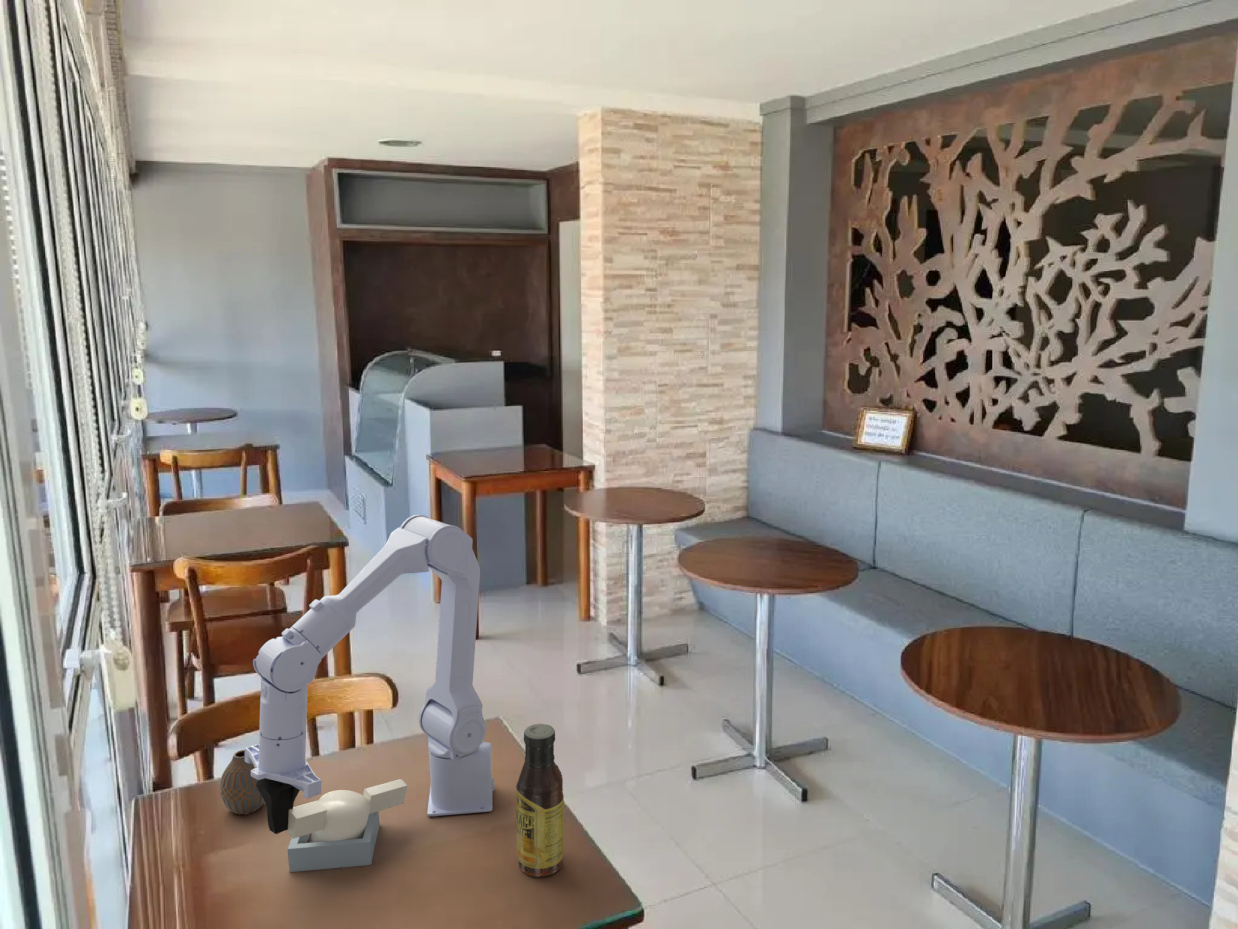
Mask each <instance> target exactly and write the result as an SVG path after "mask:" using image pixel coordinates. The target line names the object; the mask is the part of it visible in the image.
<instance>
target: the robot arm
mask: <svg viewBox="0 0 1238 929" xmlns="http://www.w3.org/2000/svg"><path fill="white" fill-rule="evenodd" d="M473 541H474V540H473V538H472V537H471V536H470V535H469V534H468V533H466V532H465V531H464V530H463V529H461V527H459V526H457V525H452V524H449V523H448V524H447V523H444V522H441V521H439V520H435V519H432V518H430V517H428V516H427V515H424V514H414V515H412V516H409V517H408V518H406V519H405V520H404V521H403V522H402V524H401V525H400V526H399V527H397V528H396V529H394V530H393V531H391V533H390V535H389V537H388V539H387V541H386V543H385V544H384V546H383V547H382V548H381V549H380V550H379V551H378V552H377V553H376V554H375V555H374V556H373V557H372V558H371V560H370V561H369V562H368V563H367V564H365V566H364V567H363V568H362V569H361V570H360V571H359V572H358V574H356V575H355V577H354V578H352V579H351V581H350V582H349V583H348V584H347V585H346V586H345V587H344V588H343V589H342V590H341V592H339V593H338V594H335V595H325V596H323V597H322V598H321V599H314V600H313V601H312V602H311V603H310V604H309V605H308V606H309V609H308V610H307V611H306V612H305V614H303V615H302V616H301V617H300V618H299V619H298V620H297V621H296V622H295V623H294V624H293V625H292V626H290V628H285V629H284V630H283V631H282V632H281V636H277V637H276V638H271V639H269V640H267V641H266V642H265V643H264V644H263V645H262V646H261V647H260V648H259V650H258V655H256V658H254V659H253V661H252V665H253V669H254V670H255V672H256V673H257V675H258V676H259V677H260V700H259V703H260V704H259V736H258V737H259V738H258V743H257V744H254V745H253V744H252V745H251V746H248V747H245V748H244V750H245V762H246V763H248V764H250V763H253V765H254V767H255V769H253V770H251V776H252V777H253V778H255V779H257V780H259V781H257V782H256V787H257V789H258V790H259V792H260V793H261V795H262V797H263V799H264V802H265V803H264V805H265V807H266V816H267V825H268V829H269V831H270V832H272V833H273V834H274V835H278V834H280V833H282V832H286V831H285V830H288V818H289V810H290V809H293V807H294V803H295V800H296V799H297V797H298V794H299V793H300V791H301V792H302V793H303V797H304V798H305V799H307V800H308V799H312V798H314V797H316V796H319V795H321V794H322V783H323V782H322V781H323V780H322V779H321V778H320V777H318V776H317V775H316V773H315V772H314V770H313V768H312V767H311V766H310V764H309V761H308V760H307V759H306V752H307V751H306V749H307V748H306V747H307V746H306V744H307V718H308V717H307V716H308V713H307V712H308V685H309V684H310V683H311V684H312V682H313V680H314V679H315V677H316V675H317V671H318V667H319V664H320V663H321V662H322V659H323V658H324V657H325V656H326V655H328V653H329V652H330V651H331V650H332V649H333V648H334V647H335V646H336V645H337V644H338V643H339V642H340V641H341V640H342V639H344V638H345V637H346V636H347V635H348V634H349V633H350V632H351V631H352V630H353V629H354V628H355V627H356V621H357V614H358V612H360V610H362V609H363V608H364V607H365V606H366V605H367V604H369V603H370V602H371V601H372V600H374V599H375V598H376V597H377V596H378V595H379V594H380V593H381V592H383V591H384V590H385V589H386V588H387V587H388V586H389V585H391V584H392V583H393V582H394V581H396V580H397V579H398V578H399V577H400V576H401V575H405V574H418V573H428V572H430V570H431V571H432V572H433V573H434V574H435V575H436V576H438V578H439V579H440V581H441V586H440V600H439V603H440V604H439V619H438V632H437V633H438V634H437V650H436V663H435V664H436V666H435V679H434V680H435V682H434V683H433V684H432V685H431V686H430V687H428V688H427V689H426V690H425V698H424V699H425V700H424V702H423V705H422V707H421V709H420V712H419V715H418V726H419V727H420V730H421V731H422V733H424V734H426V735H427V743H428V758H429V759H428V760H429V762H428V763H429V774H430V775H429V777H430V778H429V779H430V781H429V782H430V788H429V797H428V804H427V811H426V813H427V814H426V815H427V817H439V816H440V817H441V816H451V815H463V814H474V813H475V814H476V813H488V812H492V811H493V791H495V789H496V788H495V778H494V777H493V765H492V763H493V762H492V744H491V742H485V741H484V740H485V737H486V733H487V723H486V721H485V718H484V717H483V703H482V700H481V699H480V696H479V695H478V693H477V691H476V690H475V687H474V685H473V680H474V670H475V669H474V666H475V654H476V652H475V650H476V639H477V638H476V637H477V625H478V612H479V611H478V607H479V596H480V594H479V593H480V580H481V568H480V567H481V566H480V565H479V562H478V560H477V557H476V555H475V552H474V550H473Z"/></svg>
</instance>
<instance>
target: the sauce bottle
mask: <svg viewBox="0 0 1238 929" xmlns="http://www.w3.org/2000/svg"><path fill="white" fill-rule="evenodd" d="M555 741H556V731H555V728H554V727H553V726H552V725H549V724H545V723H536V724H535V723H534V724H531V725H529V726H528V727H527V726H526V728H525V729H524V732H523V742H524V750H525V752H524V753H525V756H524V763H523V765H522V768H521V771H520V774H519V777H518V780H517V782H516V785H515V788H516V789H515V790H516V791H515V792H516V793H515V795H516V796H515V799H516V804H515V805H516V806H515V807H516V809H515V812H516V814H515V815H516V816H515V817H516V852H517V859H518V866H519V870H521V872H523V873H525V875H528V876H529V877H532V878H541V877H547V876H551V875H555V873H557V872H559V870H560V869H562V867H563V862H564V861H563V860H564V858H563V857H564V854H565V853H564V852H565V850H564V848H565V847H564V842H565V841H564V840H565V839H564V836H565V835H564V834H565V832H564V831H565V830H564V828H565V827H564V826H565V825H564V824H565V821H564V820H565V819H564V817H565V815H564V811H565V810H564V809H565V808H564V807H565V806H564V804H565V802H564V799H565V798H564V792H563V790H564V787H563V786H564V785H563V784H564V783H563V782H564V781H563V774H562V771H561V770H560V767H559V765H558V764H556V762H555V757H556V756H555V754H554V753H555V752H554V751H555V750H554V749H555V747H554V746H555V745H554V744H555Z"/></svg>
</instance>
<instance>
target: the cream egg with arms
mask: <svg viewBox="0 0 1238 929" xmlns="http://www.w3.org/2000/svg"><path fill="white" fill-rule="evenodd" d="M407 788H408V785H407V783H406V782H405V781H403V779H402V778H399V779H395V780H392V781H388V782H385V783H381V784H376V785H373V786H369V787H366V788H364V790H363V794H361V793H359V792H356V791H353V790H349V789H347V790H346V789H338V790H337V789H336V790H331V791H328V792H326V793H324V794H322V796H321V797H320V798H319V799H317V800H314V801H310V802H306V803H303V804H300V805H295V806H293V809H290V810H289V818H288V830H285V831H284V832H286V833H287V835H289V836H290V838H292V839H294V838H297V837H300V836H304V835H307V834H310V835H311V836H310V841H309V843H314V842H326V841H338V840H350V839H362V838H363V836H364V832H365V828H366V825H367V821H368V816H369V814H371V813H374V812H377V811H379V812H381V811H383V810H387V809H390V808H393V807H397V806H401V805H403V804H405V798H406V794H407Z"/></svg>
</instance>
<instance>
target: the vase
mask: <svg viewBox="0 0 1238 929" xmlns="http://www.w3.org/2000/svg"><path fill="white" fill-rule="evenodd" d="M224 769H225V770H224V771H223V773H222V774H221V778H220V783H219V792H220V797H221V798H220V799H221V801H222V803H223V805H224V806H225V807H226V809H227V810H229V811H230V812H232V813H233V814H236V815H240V814H244V815H247V814H246V813H249V814H251V813H250V812H252V813H254V812H253V811H255V810H257V809H258V810H259V809H261V807H262V806H263V805H265V802H264V799H263V797H262V795H261V793H260V792H259V790H258V789H257V787H256V782H257V781H259V780H257V779H255V778H253V777H252V776H251V770H253V769H255V767H254V765H253V763H250V764H248V763H246V762H245V749H240V750H239V751H236V752H235V753H234V754H233V755H232V759H231V761H230V762H229V764H227V766H226V768H224ZM258 810H257V811H258ZM255 812H256V811H255Z"/></svg>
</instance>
